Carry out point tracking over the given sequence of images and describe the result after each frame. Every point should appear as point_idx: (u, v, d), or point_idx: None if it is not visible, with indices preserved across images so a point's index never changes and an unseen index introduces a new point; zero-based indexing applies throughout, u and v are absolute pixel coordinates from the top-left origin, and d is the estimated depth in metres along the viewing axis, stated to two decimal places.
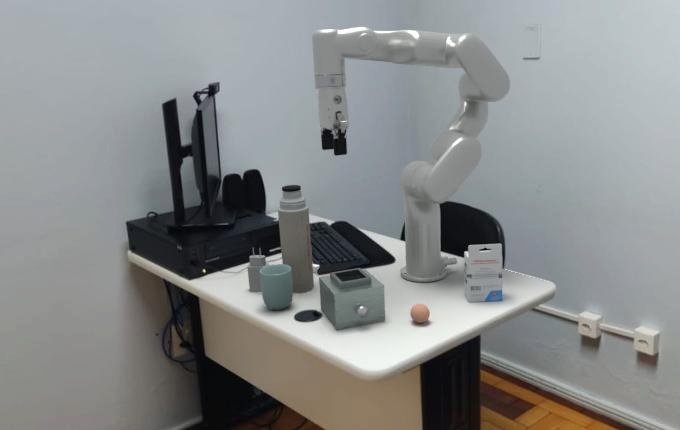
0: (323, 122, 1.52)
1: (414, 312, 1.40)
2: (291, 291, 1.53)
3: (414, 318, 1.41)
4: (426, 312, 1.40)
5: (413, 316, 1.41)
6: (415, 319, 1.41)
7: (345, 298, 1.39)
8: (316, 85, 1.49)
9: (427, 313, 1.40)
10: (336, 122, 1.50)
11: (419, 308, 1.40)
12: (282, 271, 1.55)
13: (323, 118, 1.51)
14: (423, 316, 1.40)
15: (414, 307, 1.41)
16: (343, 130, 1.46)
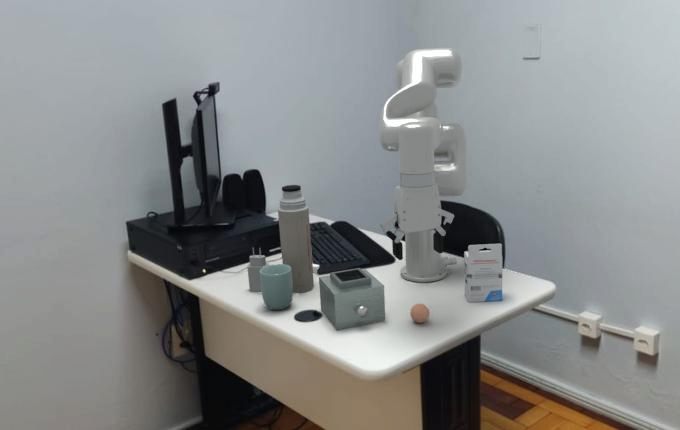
0: (420, 225, 1.34)
1: (414, 312, 1.40)
2: (291, 291, 1.53)
3: (414, 318, 1.41)
4: (426, 312, 1.40)
5: (413, 316, 1.41)
6: (415, 319, 1.41)
7: (345, 298, 1.39)
8: (426, 184, 1.31)
9: (427, 313, 1.40)
10: None
11: (419, 308, 1.40)
12: (282, 271, 1.55)
13: (423, 220, 1.34)
14: (423, 316, 1.40)
15: (414, 307, 1.41)
16: None
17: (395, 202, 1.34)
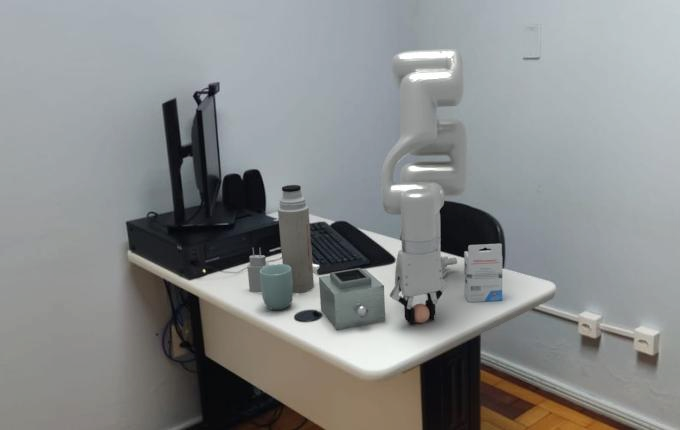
0: (422, 288, 1.38)
1: (414, 312, 1.40)
2: (291, 291, 1.53)
3: (414, 318, 1.41)
4: (426, 312, 1.40)
5: None
6: (415, 319, 1.41)
7: (345, 298, 1.39)
8: (427, 251, 1.34)
9: (427, 313, 1.40)
10: None
11: (419, 308, 1.40)
12: (282, 271, 1.55)
13: (424, 284, 1.38)
14: (424, 316, 1.40)
15: (414, 307, 1.41)
16: None
17: (397, 266, 1.38)
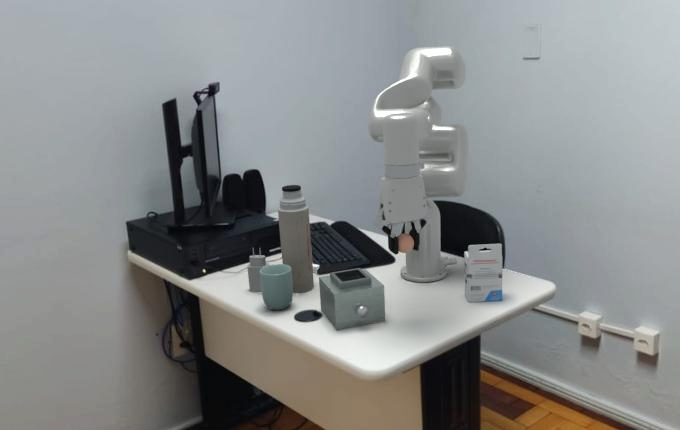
0: (405, 216, 1.35)
1: (398, 241, 1.37)
2: (291, 291, 1.53)
3: (398, 248, 1.37)
4: (410, 241, 1.37)
5: None
6: (399, 249, 1.37)
7: (345, 298, 1.39)
8: (411, 175, 1.31)
9: (411, 242, 1.37)
10: None
11: (403, 237, 1.37)
12: (282, 271, 1.55)
13: (408, 211, 1.34)
14: (408, 245, 1.36)
15: (398, 236, 1.38)
16: None
17: (380, 193, 1.34)
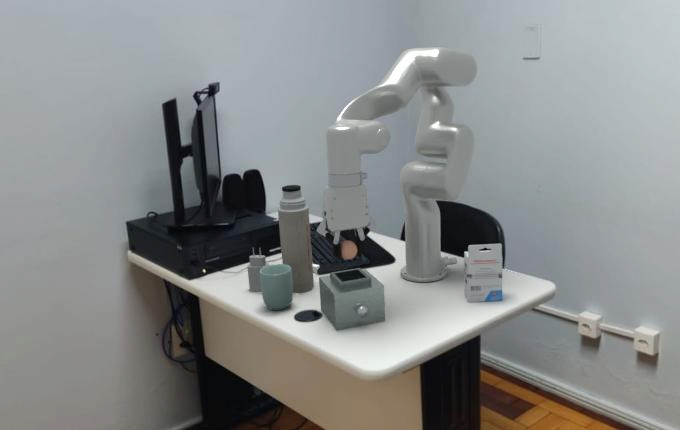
0: (348, 223, 1.39)
1: (341, 248, 1.41)
2: (291, 291, 1.53)
3: (341, 254, 1.42)
4: (353, 248, 1.41)
5: None
6: (342, 255, 1.42)
7: (345, 298, 1.39)
8: (352, 185, 1.36)
9: (354, 249, 1.41)
10: None
11: (346, 244, 1.41)
12: (282, 271, 1.55)
13: (350, 219, 1.39)
14: (350, 252, 1.41)
15: (342, 243, 1.42)
16: None
17: (324, 201, 1.39)
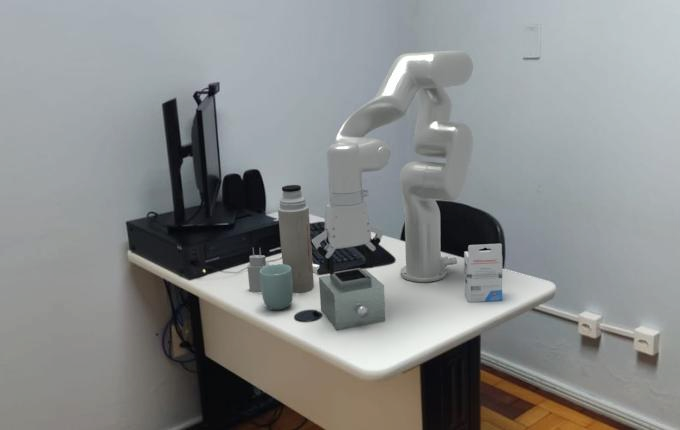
0: (349, 241, 1.41)
1: None
2: (291, 291, 1.53)
3: None
4: None
5: None
6: None
7: (345, 298, 1.39)
8: (353, 203, 1.37)
9: None
10: None
11: None
12: (282, 271, 1.55)
13: (352, 236, 1.40)
14: None
15: None
16: None
17: (326, 219, 1.40)
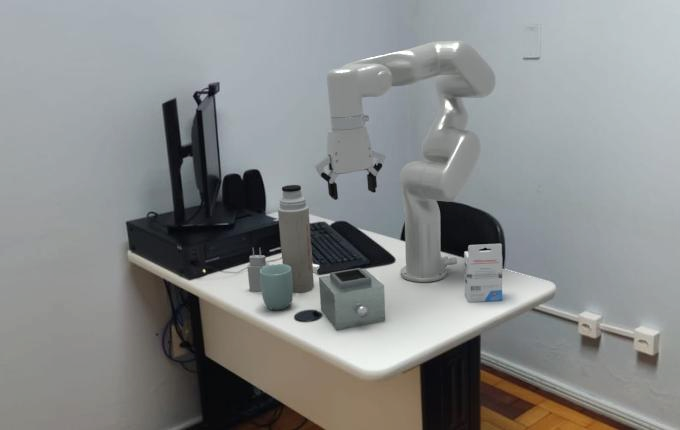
0: (352, 165, 1.43)
1: None
2: (291, 291, 1.53)
3: None
4: None
5: None
6: None
7: (345, 298, 1.39)
8: (355, 127, 1.39)
9: None
10: None
11: None
12: (282, 271, 1.55)
13: (354, 161, 1.43)
14: None
15: None
16: None
17: (328, 145, 1.43)
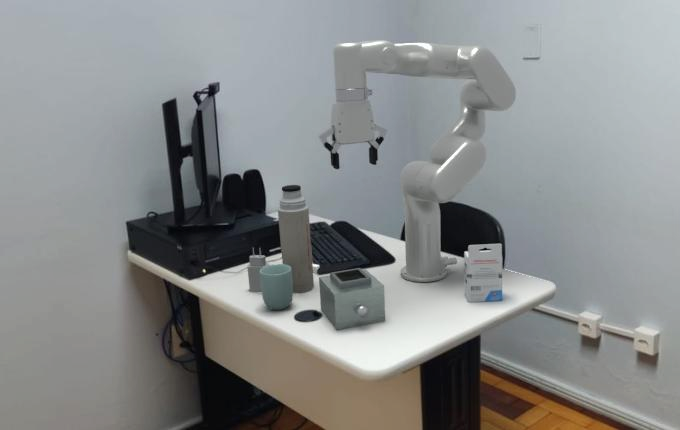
0: (354, 137, 1.49)
1: None
2: (291, 291, 1.53)
3: None
4: None
5: None
6: None
7: (345, 298, 1.39)
8: (358, 99, 1.45)
9: None
10: None
11: None
12: (282, 271, 1.55)
13: (357, 132, 1.49)
14: None
15: None
16: None
17: (332, 116, 1.49)
